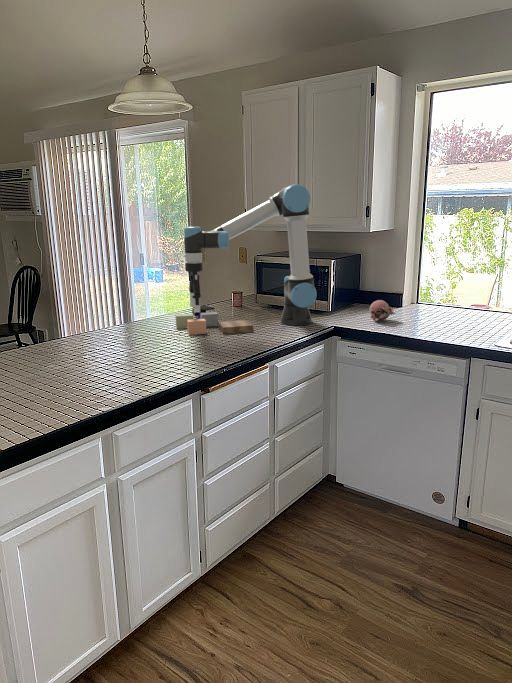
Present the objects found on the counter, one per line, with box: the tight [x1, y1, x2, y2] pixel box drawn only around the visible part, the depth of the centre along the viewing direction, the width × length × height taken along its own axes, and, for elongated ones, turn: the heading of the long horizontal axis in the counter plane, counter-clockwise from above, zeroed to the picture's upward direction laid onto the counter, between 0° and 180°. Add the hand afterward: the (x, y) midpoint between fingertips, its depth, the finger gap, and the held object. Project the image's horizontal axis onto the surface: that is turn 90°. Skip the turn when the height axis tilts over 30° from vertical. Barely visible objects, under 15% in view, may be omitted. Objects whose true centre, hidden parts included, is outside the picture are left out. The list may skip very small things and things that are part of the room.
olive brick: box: [175, 313, 194, 330], centre depth 251 cm, size 8×5×6 cm, turn 104°
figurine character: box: [191, 305, 215, 319], centre depth 266 cm, size 7×8×15 cm
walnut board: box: [217, 319, 254, 335], centre depth 243 cm, size 14×12×3 cm
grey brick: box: [200, 311, 219, 328], centre depth 254 cm, size 8×5×6 cm, turn 104°
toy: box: [368, 299, 396, 323], centre depth 254 cm, size 12×11×15 cm
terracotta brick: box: [186, 318, 207, 336], centre depth 239 cm, size 8×5×6 cm, turn 104°
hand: (195, 309), depth 237 cm, fingers open, 13 cm apart
